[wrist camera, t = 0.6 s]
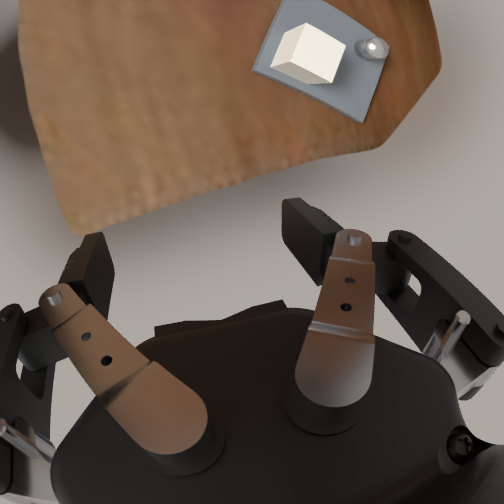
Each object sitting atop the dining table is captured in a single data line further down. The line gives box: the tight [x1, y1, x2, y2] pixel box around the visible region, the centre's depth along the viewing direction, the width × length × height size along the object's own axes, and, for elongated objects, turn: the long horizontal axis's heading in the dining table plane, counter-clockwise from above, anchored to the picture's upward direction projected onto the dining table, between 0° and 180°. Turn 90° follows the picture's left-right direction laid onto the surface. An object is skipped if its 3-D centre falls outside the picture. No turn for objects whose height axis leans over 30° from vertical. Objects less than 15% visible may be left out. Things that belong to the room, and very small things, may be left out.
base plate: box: [251, 0, 390, 123], centre depth 31 cm, size 15×18×2 cm
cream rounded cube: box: [270, 23, 346, 84], centre depth 27 cm, size 6×6×6 cm
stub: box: [354, 38, 389, 60], centre depth 29 cm, size 3×3×4 cm
